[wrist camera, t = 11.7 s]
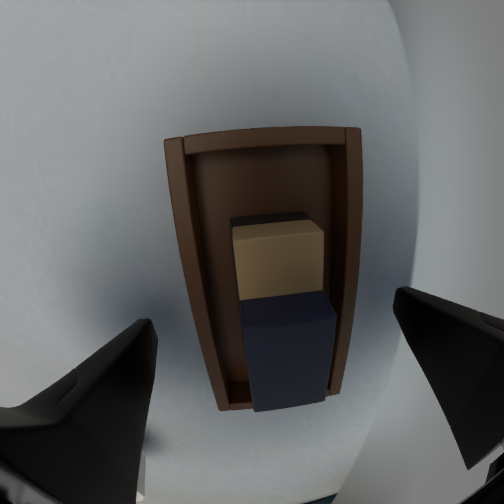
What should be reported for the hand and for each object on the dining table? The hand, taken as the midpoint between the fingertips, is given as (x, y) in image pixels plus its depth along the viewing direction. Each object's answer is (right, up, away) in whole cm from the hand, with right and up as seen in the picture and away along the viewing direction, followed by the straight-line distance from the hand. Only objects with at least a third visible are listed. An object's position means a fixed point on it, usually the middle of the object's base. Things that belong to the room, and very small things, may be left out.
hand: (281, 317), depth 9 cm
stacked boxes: (0, +1, +2) cm, 2 cm away
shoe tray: (0, +1, +2) cm, 3 cm away
